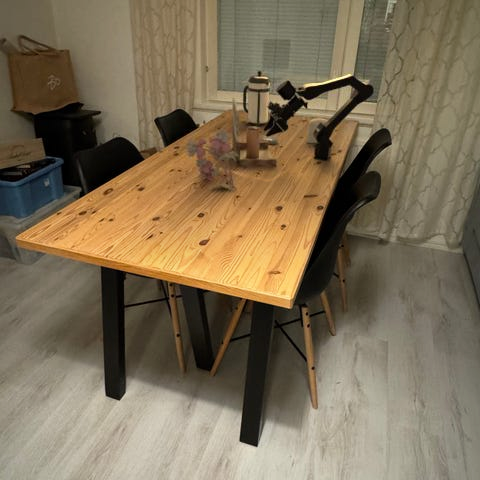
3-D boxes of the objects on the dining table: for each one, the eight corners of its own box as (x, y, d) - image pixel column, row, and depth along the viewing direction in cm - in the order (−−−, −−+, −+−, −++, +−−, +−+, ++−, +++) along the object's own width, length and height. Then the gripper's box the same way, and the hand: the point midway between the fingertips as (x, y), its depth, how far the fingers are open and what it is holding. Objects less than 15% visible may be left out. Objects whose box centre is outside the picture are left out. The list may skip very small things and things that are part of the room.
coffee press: (270, 120, 249) (273, 69, 234) (269, 127, 236) (272, 72, 220) (242, 119, 251) (243, 68, 236) (240, 126, 237) (241, 72, 222)
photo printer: (324, 140, 213) (327, 117, 207) (327, 143, 210) (330, 119, 203) (305, 141, 212) (308, 117, 206) (308, 143, 208) (310, 119, 202)
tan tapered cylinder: (261, 155, 187) (262, 127, 180) (255, 159, 183) (255, 130, 176) (250, 153, 190) (250, 125, 183) (243, 157, 185) (244, 128, 179)
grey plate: (281, 141, 211) (281, 137, 210) (271, 147, 202) (271, 143, 201) (261, 137, 217) (262, 134, 216) (250, 143, 208) (250, 139, 207)
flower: (251, 171, 168) (225, 115, 158) (255, 186, 148) (225, 124, 138) (209, 191, 171) (180, 138, 161) (206, 209, 151) (174, 149, 141)
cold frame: (267, 149, 199) (270, 97, 187) (276, 168, 176) (279, 110, 163) (232, 149, 198) (232, 97, 185) (236, 169, 174) (236, 110, 162)
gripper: (275, 90, 181) (250, 115, 186) (282, 99, 165) (255, 125, 170) (291, 108, 186) (266, 132, 190) (299, 118, 170) (272, 144, 174)
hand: (265, 133), depth 181 cm, fingers open, 9 cm apart
